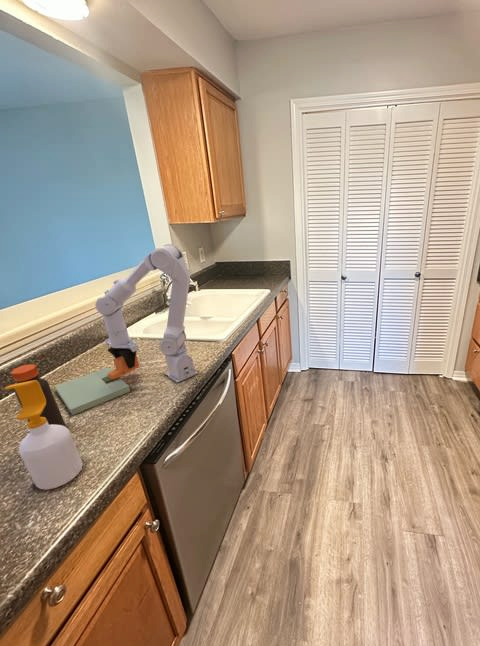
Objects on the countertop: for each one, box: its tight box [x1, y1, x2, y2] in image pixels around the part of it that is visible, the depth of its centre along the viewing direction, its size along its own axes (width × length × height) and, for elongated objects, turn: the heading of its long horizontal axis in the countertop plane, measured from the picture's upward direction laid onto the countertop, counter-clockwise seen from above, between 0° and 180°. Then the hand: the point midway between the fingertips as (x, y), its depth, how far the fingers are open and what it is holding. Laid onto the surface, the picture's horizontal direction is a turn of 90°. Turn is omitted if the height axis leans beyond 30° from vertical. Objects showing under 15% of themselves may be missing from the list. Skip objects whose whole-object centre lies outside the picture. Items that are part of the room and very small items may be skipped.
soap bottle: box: [4, 380, 84, 490], centre depth 69 cm, size 9×9×25 cm
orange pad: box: [108, 355, 140, 380], centre depth 111 cm, size 4×10×5 cm, turn 153°
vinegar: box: [10, 363, 67, 428], centre depth 84 cm, size 7×7×20 cm
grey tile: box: [54, 367, 131, 416], centre depth 106 cm, size 20×16×2 cm
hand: (127, 366), depth 113 cm, fingers closed on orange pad, 4 cm apart
